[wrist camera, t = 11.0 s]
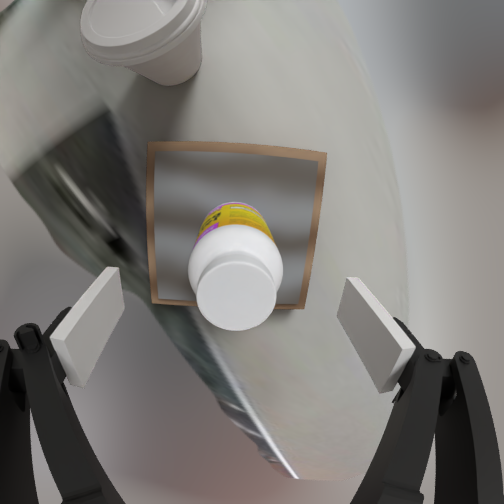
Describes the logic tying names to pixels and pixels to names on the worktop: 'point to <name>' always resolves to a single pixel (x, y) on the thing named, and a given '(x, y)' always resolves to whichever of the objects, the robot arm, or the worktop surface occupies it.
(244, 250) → the supplement bottle
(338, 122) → the worktop surface
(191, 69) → the coffee cup
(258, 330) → the worktop surface
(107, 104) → the worktop surface
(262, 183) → the plinth
